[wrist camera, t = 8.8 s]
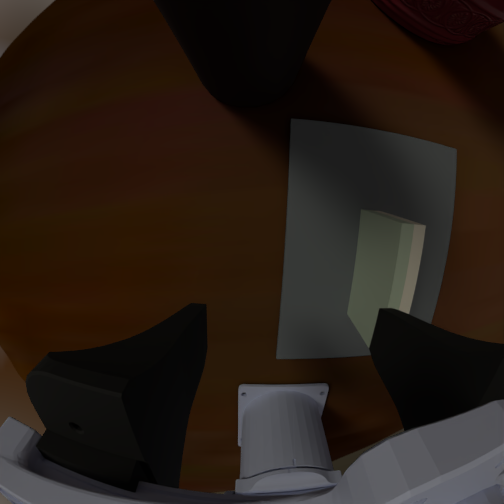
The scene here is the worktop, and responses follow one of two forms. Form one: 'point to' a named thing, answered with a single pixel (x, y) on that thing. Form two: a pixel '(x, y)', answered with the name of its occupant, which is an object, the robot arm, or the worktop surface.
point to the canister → (445, 18)
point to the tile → (384, 268)
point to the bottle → (245, 43)
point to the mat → (354, 226)
